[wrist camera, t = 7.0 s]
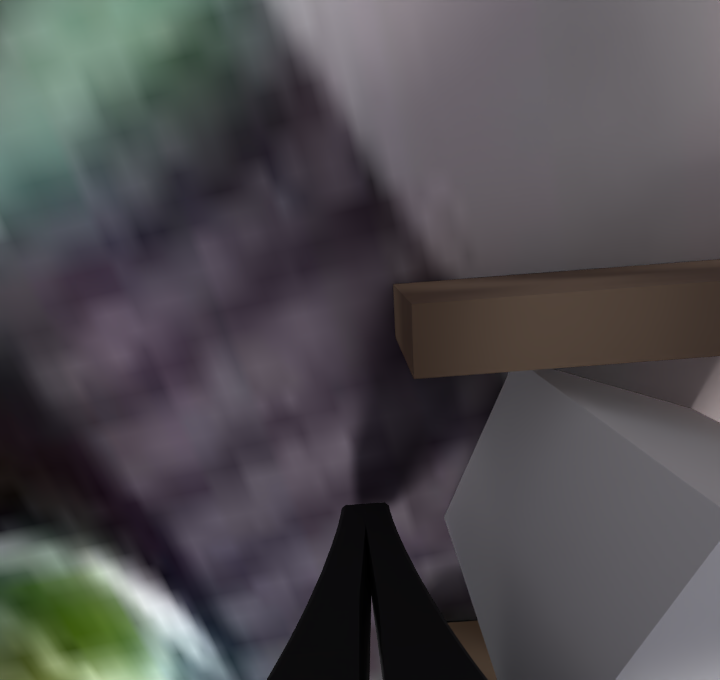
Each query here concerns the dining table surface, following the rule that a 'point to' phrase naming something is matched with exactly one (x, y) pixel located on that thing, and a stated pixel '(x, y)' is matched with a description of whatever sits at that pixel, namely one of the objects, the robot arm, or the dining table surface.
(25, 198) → the dining table surface
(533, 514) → the plain light grey cube
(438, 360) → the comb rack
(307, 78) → the dining table surface
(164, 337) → the dining table surface
